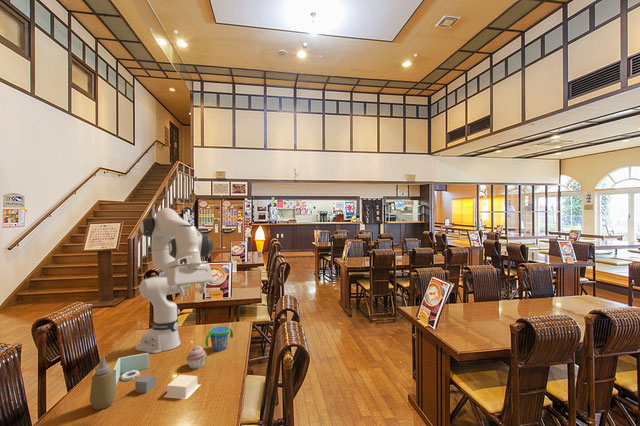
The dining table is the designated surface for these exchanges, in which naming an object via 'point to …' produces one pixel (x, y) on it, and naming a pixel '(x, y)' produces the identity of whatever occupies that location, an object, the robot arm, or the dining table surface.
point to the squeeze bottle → (102, 386)
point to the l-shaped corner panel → (130, 367)
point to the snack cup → (219, 337)
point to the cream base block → (182, 386)
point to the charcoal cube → (145, 383)
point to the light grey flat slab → (182, 397)
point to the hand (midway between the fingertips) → (193, 294)
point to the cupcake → (196, 357)
